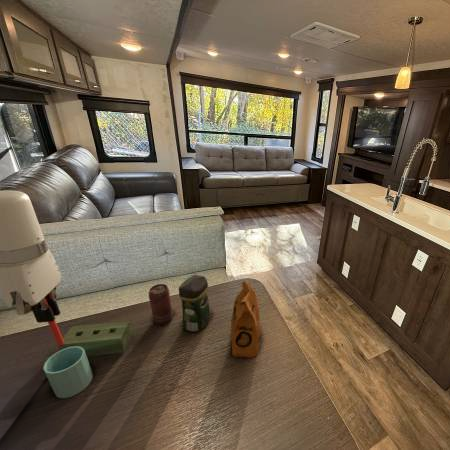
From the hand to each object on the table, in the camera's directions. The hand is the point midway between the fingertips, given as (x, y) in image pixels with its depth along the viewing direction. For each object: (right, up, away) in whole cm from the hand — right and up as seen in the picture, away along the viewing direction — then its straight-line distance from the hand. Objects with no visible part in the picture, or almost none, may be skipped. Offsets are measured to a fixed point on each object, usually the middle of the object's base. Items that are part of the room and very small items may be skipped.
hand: (49, 317), depth 58 cm
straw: (-1, -8, +3) cm, 9 cm away
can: (+9, -13, +32) cm, 36 cm away
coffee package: (+41, -19, +26) cm, 52 cm away
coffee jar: (+22, -14, +32) cm, 41 cm away
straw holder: (-4, -16, +20) cm, 26 cm away
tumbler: (-2, -21, +9) cm, 23 cm away
